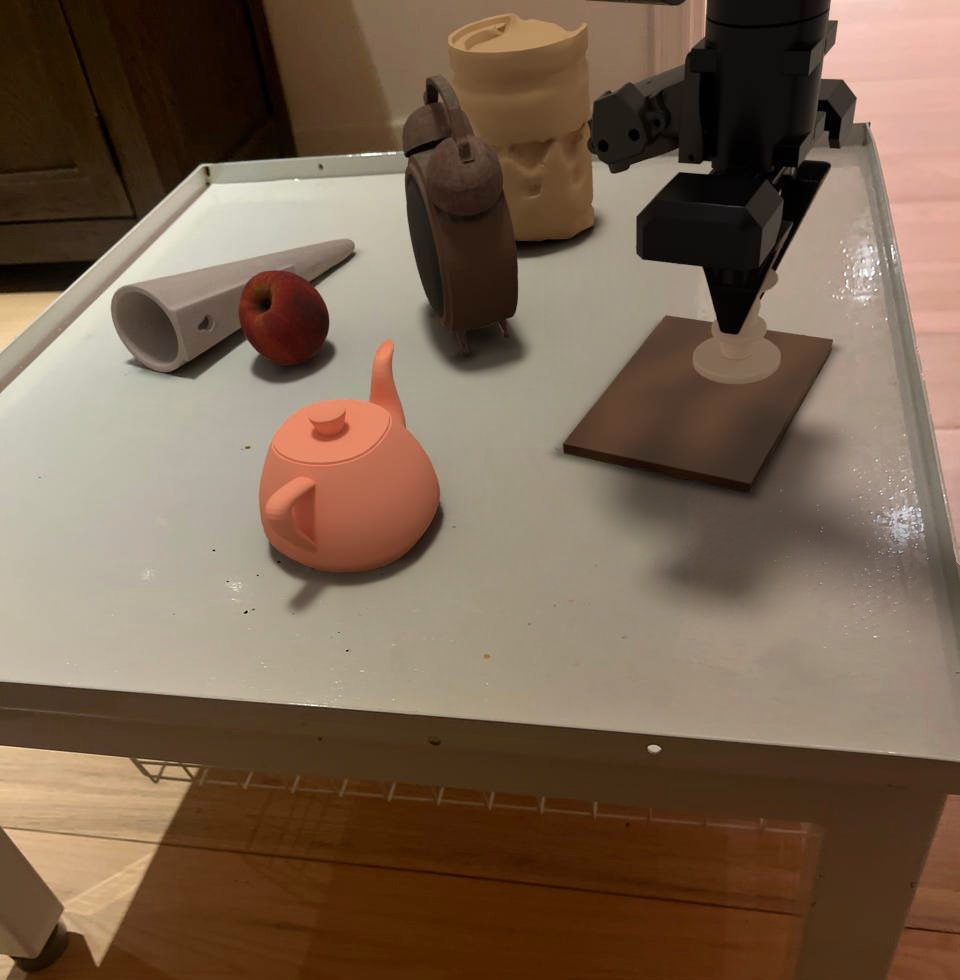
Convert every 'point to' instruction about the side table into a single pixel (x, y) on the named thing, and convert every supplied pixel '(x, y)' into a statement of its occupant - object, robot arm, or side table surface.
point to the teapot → (348, 481)
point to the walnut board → (696, 409)
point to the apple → (283, 317)
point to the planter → (203, 303)
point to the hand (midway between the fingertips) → (740, 316)
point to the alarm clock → (458, 217)
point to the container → (531, 117)
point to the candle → (740, 349)
